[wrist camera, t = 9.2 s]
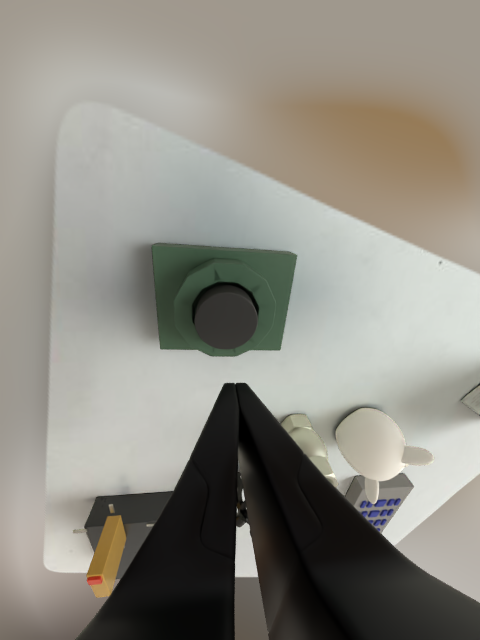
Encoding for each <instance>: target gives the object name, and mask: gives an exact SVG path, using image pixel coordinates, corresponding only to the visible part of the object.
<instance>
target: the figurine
mask: <svg viewBox="0 0 480 640" xmlns="http://www.w3.org/2000/svg"><path fill="white" fill-rule="evenodd" d="M336 440H337V444H338V447H339V450H340V452H341V454H342V455H343V457H344V458H345V460H346V461H347V462H348V463H349V464H350V466H351V467H352V468H353V469H355V470H356V471H357V472H358V473H360V474H361V475H362V476H364V477H365V491H366V495H367V498H368V500H369V502H370V503H372V504H375V503H376V502H377V499H378V494H379V482H378V481H385V480H389V479H391V478H393V477H395V476H396V475H398V474H399V473H400V472H401V471H402V469H403V468H404V467H407V466H408V465H415V466H425V465H429V464H431V463H432V462H433V461H434V456H433V455H432V454H431V453H430V452H429V451H427V450H425V449H423V448H419V447H414V446H407V445H406V441H405V438H404V436H403V434H402V432H401V430H400V428H399V427H398V425H397V424H396V423H395V422H394V421H393V420H392V419H391V418H390V417H389V416H388V415H386V414H385V413H383V412H381V411H379V410H376V409H372V408H361V409H358V410H356V411H355V412H353V413H352V414H350V415H349V416H347V417H346V418H345V419H344V420H343V421H342V422H341V423H340V425H339V426H338V427H337V429H336Z"/></svg>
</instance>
